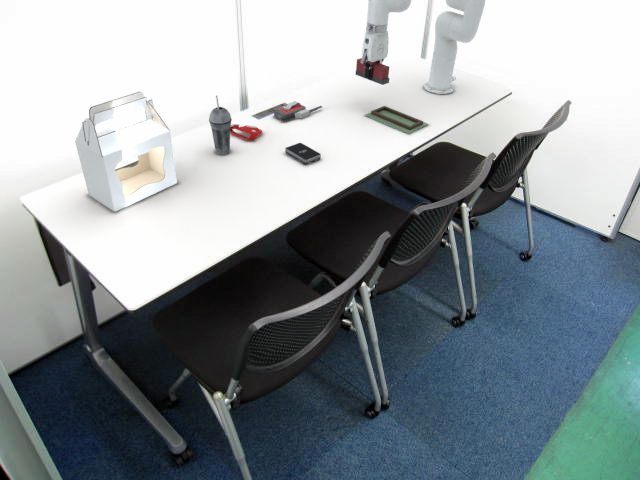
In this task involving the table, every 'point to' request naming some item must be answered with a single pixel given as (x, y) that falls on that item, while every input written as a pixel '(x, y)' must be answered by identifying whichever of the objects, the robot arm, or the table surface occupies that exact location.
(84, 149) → the gable box
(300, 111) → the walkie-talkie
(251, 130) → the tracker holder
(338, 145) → the table surface
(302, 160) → the external hard drive
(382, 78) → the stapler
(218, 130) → the beverage cup
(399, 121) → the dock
